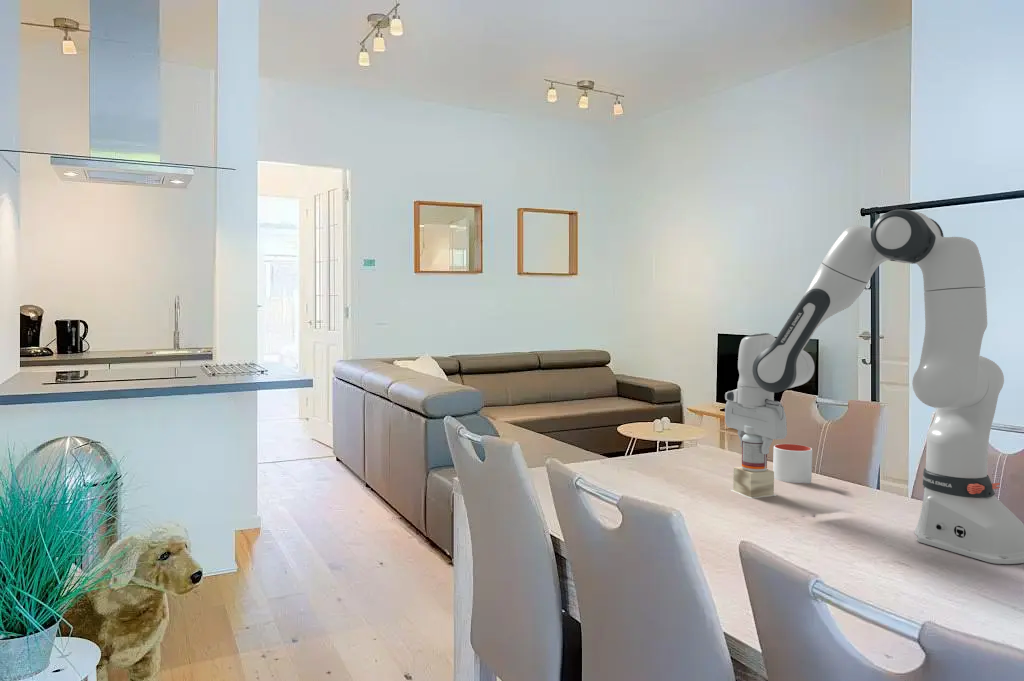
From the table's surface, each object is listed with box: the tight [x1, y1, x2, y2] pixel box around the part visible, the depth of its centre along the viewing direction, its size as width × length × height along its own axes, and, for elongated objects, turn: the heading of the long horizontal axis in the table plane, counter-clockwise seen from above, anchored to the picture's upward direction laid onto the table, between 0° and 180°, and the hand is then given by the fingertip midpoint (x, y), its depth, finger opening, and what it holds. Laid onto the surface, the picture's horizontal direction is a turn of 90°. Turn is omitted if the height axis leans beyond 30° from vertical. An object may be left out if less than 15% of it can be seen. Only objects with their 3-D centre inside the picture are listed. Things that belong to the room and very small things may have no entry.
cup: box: [772, 443, 813, 485], centre depth 197 cm, size 10×10×10 cm
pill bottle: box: [741, 425, 768, 472], centre depth 182 cm, size 6×6×11 cm
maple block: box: [732, 466, 775, 497], centre depth 182 cm, size 7×7×6 cm
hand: (754, 450), depth 182 cm, fingers closed on pill bottle, 6 cm apart
